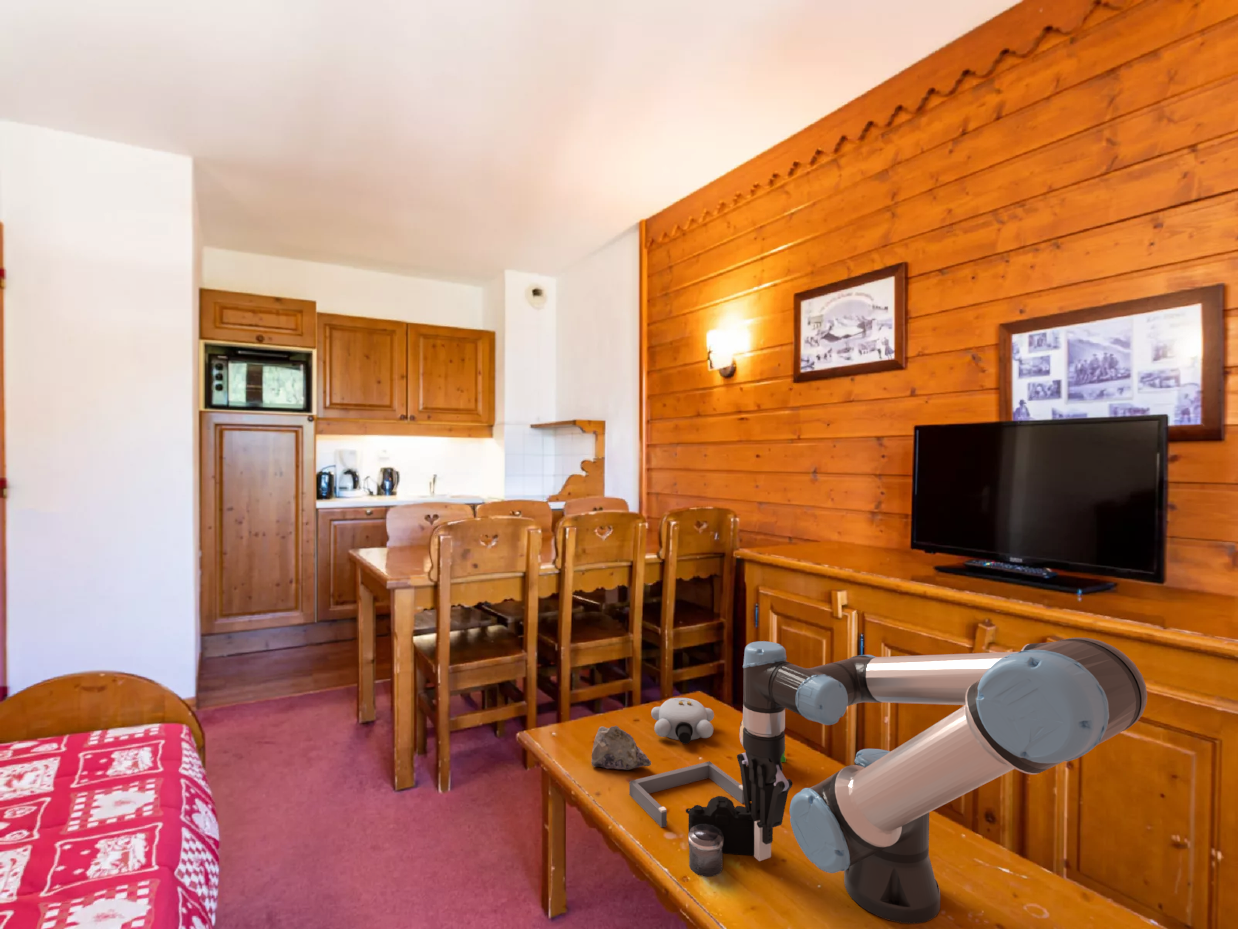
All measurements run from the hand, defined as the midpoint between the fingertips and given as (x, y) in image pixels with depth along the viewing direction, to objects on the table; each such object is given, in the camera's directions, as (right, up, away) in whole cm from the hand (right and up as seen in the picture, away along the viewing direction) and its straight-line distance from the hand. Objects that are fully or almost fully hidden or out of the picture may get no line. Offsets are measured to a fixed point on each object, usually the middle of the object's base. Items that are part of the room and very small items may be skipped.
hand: (762, 856), depth 115 cm
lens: (-10, -2, 0) cm, 11 cm away
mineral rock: (-26, -2, +36) cm, 45 cm away
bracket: (-11, -1, +23) cm, 25 cm away
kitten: (+9, -2, +38) cm, 39 cm away
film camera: (-6, -2, +8) cm, 10 cm away
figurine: (-9, -2, +56) cm, 57 cm away
